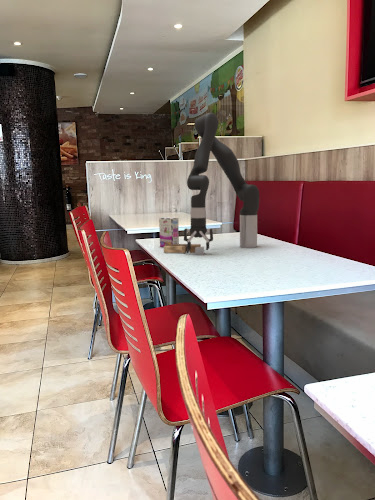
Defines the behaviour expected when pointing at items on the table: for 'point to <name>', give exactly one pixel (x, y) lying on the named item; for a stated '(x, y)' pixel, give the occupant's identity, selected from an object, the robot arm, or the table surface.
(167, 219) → the candy bar box
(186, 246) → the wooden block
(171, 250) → the block
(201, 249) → the collar
